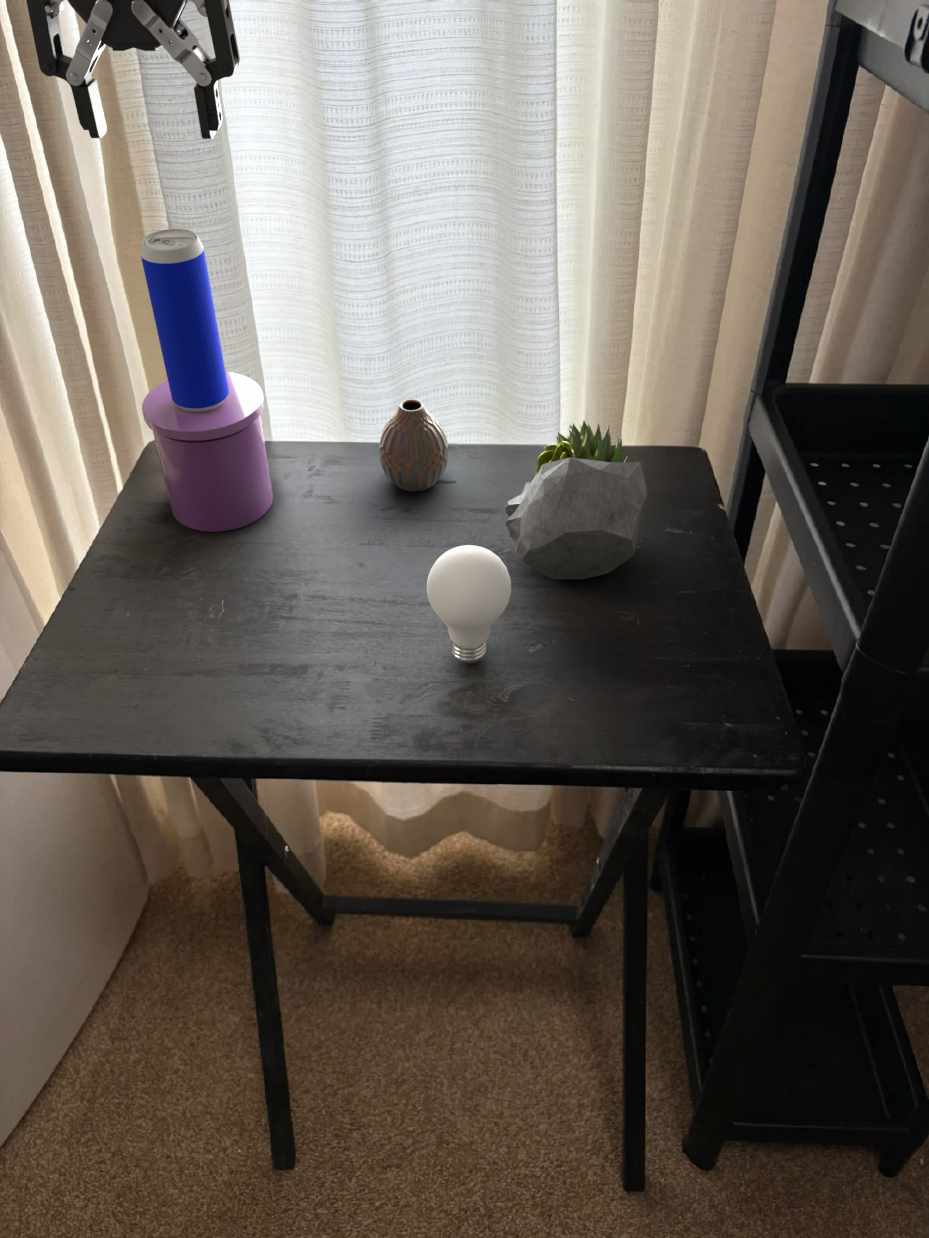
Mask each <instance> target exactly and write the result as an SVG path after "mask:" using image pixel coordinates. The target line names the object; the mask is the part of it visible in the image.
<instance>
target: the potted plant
mask: <svg viewBox="0 0 929 1238" xmlns="http://www.w3.org/2000/svg"><path fill="white" fill-rule="evenodd" d="M600 427H601V426H600V423H599V422H598V423H597V426H596V430H595V433H594V432H593V429H592V427H591V426H590V423H589V422H587V423H586V421H585V420H583V421H582V424H579V428H580V430H579V429H578V428H577V426H576V425H575V424H574V423H571V424H569V428H567V431H566V436H565V434H561V433H560V432H559V431H557V435H556V443H551V444H548V445H546V447H545V446H543V451H542V452H541V453H540V454H539V455H538V456H537V459H536V463H535V464H536V468H535V476H534V478H533V479H532V481H531V482H528V481H527V482H525V485H524V487H523V489H522V492H521V494H519V495H517V496H514V497H513V498H511V499H509V500H507V501H506V504H505V507H504V510H505V513H506V515H507V516H508V519H507V520H506V521H505V526H506V528H507V530H508V532H509V537H510V538H511V539H512V543H513V544H512V545H513V550H514V555H515V556H516V557H517V558H519V559H520V560H521V561H522V562H524V563H525V564H527V566H529V567H531V568H532V569H533V570H535V571H536V572H538V573H540V574H542V575H544V576H546V577H548V578H550V579H552V580H587V579H590V578H594V577H599V576H602V575H606V574H607V575H608V574H609V573H611V572H612V571H614V570H615V569H617V568H618V567H619V566H621V565H622V564H624V563H625V562H626V561H628V560H630V559H632V558H633V557H634V556H635V551H636V545H637V540H638V534H639V528H640V522H641V519H642V516H643V513H644V511H645V507H646V502H647V498H648V494H649V493H648V490H647V485H646V480H645V475H644V472H643V467H642V463H641V461H628V456H626V457H625V460H624V461H623V440H622V437H620V438H619V437H617V438H616V444H615V445H616V446H615V448H614V449H613V450H612V440H611V432H610V425H607V430H606V431H605V434H604V436H603V438H602V432H601V428H600Z"/></svg>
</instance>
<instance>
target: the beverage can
mask: <svg viewBox="0 0 929 1238" xmlns="http://www.w3.org/2000/svg"><path fill="white" fill-rule="evenodd" d="M199 237H200V236H199V235H198V234H197V233H196V232H194V231H193V230H189V229H185V228H167V229H162V230H156V231H153V232H151V233H149V234H148V235H146V236H144V238H143V239H142V240H141V244H140V246H141V247H140V258H141V263H142V268H143V272H144V277H145V282H146V285H147V291H148V296H149V300H150V305H151V309H152V313H153V318H154V324H155V327H156V332H157V337H158V341H159V346H160V350H161V354H162V355H161V356H162V360H163V364H164V369H165V373H166V378H167V380H168V383H169V387H170V392H171V397H172V400H173V402H174V403H175V404H176V405H177V406H179V407H180V408H181V409H183V410H185V411H189V412H206V411H210V410H213V409H215V408H217V407H219V406H220V405H222V404H223V403H224V401H225V400H226V398H227V396H228V394H229V389H228V383H227V378H226V372H227V371H226V367H225V362H224V356H223V350H222V345H221V338H220V333H219V328H218V321H217V316H216V310H215V304H214V299H213V293H212V288H211V281H210V276H209V269H208V265H207V258H206V252H205V248H204V245H203V243H202V241H201V239H200V238H199Z"/></svg>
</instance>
